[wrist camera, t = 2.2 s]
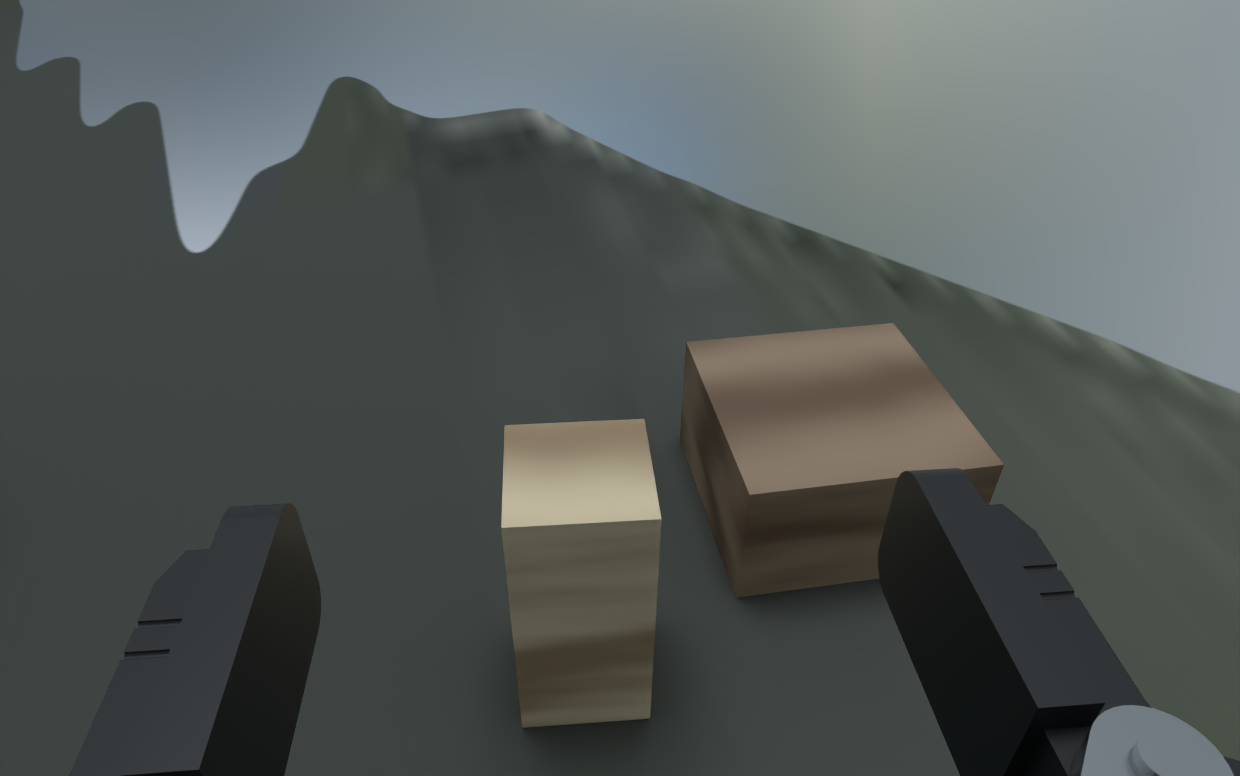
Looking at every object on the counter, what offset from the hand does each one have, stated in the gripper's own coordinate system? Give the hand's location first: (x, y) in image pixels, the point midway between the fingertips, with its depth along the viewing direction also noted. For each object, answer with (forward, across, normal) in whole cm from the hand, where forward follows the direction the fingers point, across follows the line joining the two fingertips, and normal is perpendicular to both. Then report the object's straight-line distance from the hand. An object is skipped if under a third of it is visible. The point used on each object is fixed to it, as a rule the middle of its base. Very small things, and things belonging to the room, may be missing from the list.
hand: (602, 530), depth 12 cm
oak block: (+11, 0, +19) cm, 22 cm away
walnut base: (+20, -11, +19) cm, 29 cm away
